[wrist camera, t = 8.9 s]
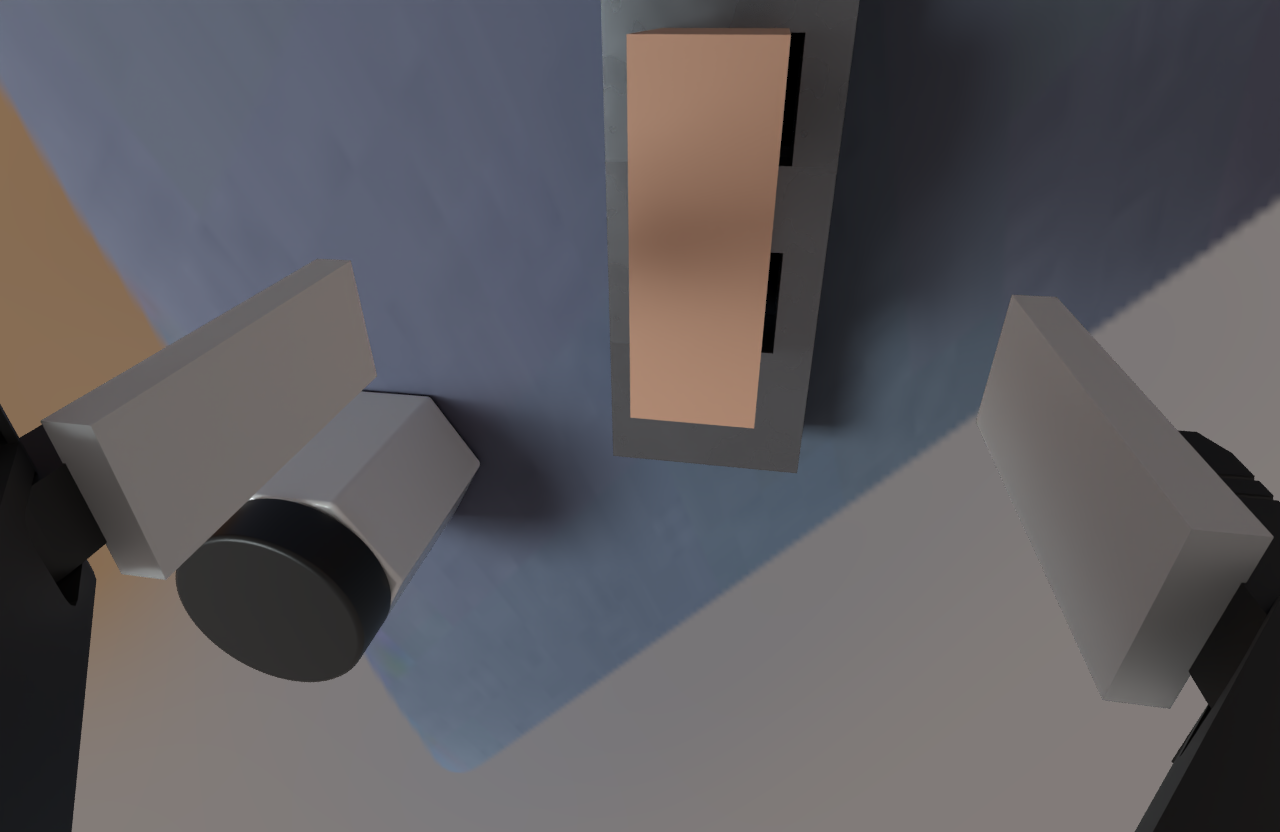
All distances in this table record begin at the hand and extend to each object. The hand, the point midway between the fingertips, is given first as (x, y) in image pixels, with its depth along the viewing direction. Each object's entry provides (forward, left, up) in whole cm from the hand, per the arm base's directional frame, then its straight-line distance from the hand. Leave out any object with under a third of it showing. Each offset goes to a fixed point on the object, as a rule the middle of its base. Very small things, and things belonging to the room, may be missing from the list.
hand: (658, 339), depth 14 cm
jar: (+15, -16, -17) cm, 28 cm away
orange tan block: (0, 0, -16) cm, 16 cm away
